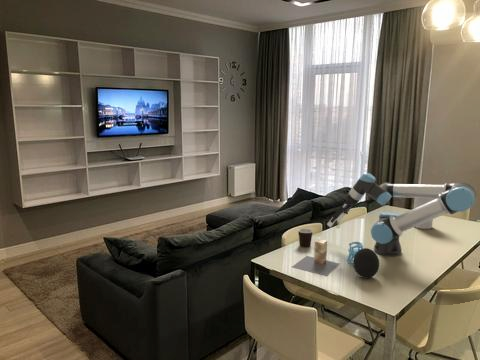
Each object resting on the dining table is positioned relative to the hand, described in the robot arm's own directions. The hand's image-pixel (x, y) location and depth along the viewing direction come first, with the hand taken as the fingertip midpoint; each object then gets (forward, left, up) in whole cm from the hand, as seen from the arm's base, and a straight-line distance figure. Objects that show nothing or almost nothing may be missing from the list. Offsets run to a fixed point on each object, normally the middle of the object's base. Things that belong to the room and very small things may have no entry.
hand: (333, 223), depth 231 cm
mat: (-3, +29, -16) cm, 34 cm away
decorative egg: (-29, +28, -16) cm, 43 cm away
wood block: (-3, +24, -15) cm, 29 cm away
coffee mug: (+15, +4, -16) cm, 23 cm away
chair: (-19, +14, -16) cm, 28 cm away
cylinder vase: (-37, -75, -16) cm, 85 cm away
